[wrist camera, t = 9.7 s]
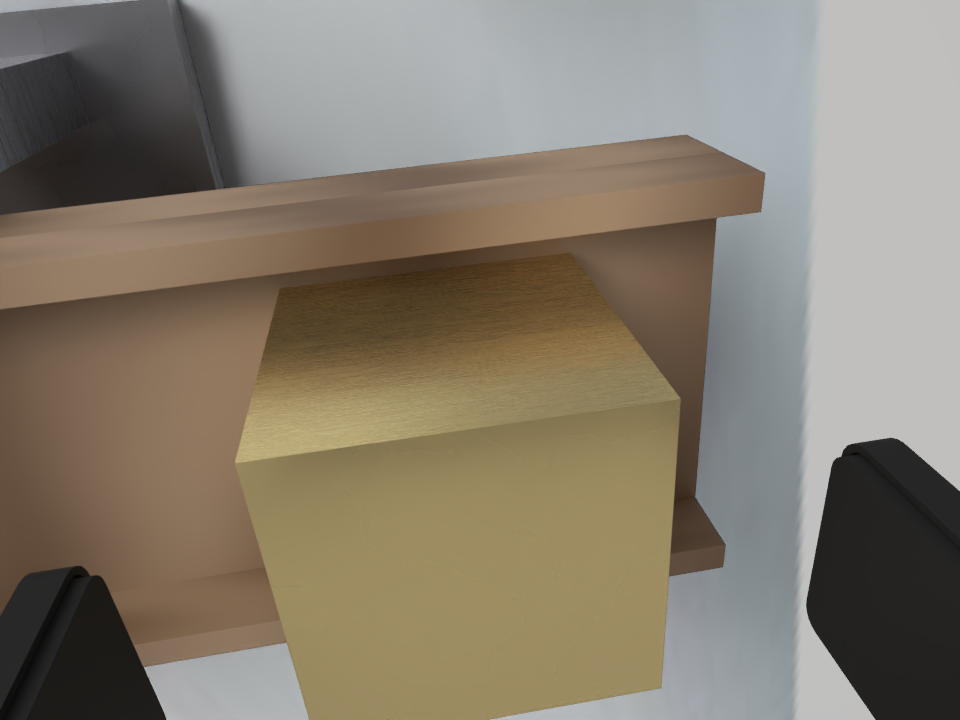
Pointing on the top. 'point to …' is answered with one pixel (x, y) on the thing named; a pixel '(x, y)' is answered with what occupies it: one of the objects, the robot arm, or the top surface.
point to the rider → (462, 492)
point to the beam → (242, 337)
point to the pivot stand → (100, 107)
